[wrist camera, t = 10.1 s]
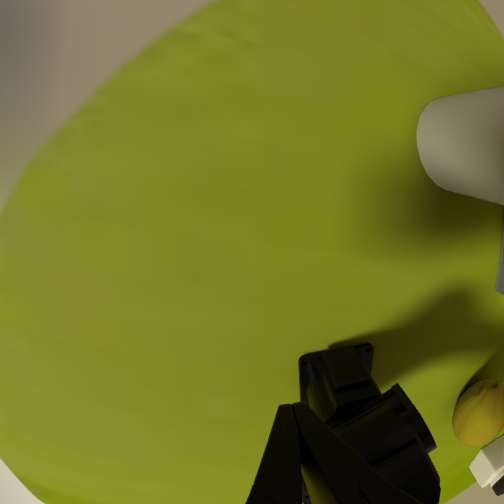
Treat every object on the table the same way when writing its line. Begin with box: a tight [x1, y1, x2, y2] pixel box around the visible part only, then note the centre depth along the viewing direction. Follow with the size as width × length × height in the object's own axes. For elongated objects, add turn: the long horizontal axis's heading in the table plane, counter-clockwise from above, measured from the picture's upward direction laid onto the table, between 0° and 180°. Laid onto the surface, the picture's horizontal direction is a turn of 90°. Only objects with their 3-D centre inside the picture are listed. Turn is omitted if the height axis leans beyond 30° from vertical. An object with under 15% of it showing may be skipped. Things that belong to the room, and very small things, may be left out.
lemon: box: [452, 379, 504, 447], centre depth 24 cm, size 11×8×8 cm
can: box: [417, 87, 504, 205], centre depth 13 cm, size 8×8×12 cm
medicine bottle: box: [469, 435, 504, 496], centre depth 30 cm, size 7×7×12 cm
